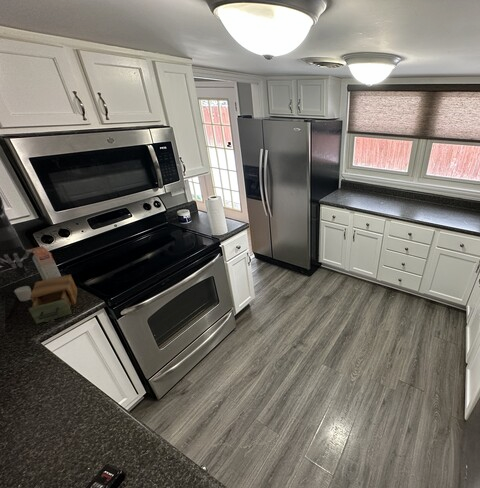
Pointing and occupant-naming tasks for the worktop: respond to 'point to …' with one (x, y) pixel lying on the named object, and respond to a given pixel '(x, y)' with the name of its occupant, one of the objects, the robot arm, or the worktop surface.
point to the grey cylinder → (23, 293)
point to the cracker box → (45, 263)
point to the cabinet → (55, 287)
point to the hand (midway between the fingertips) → (23, 274)
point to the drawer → (51, 306)
